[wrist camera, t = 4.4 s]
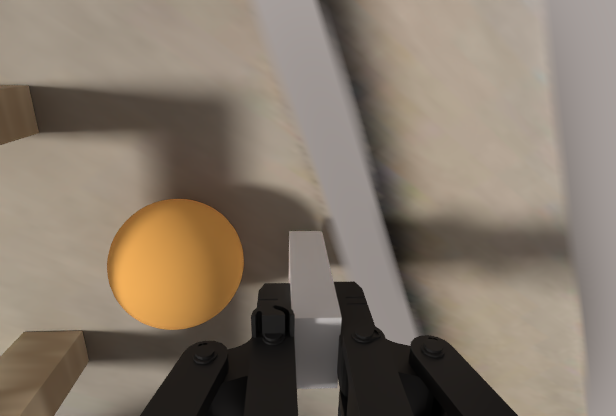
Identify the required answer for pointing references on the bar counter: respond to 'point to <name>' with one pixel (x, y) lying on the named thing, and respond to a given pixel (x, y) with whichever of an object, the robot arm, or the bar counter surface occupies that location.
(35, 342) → the bridge
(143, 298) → the ball
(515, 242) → the bar counter surface
